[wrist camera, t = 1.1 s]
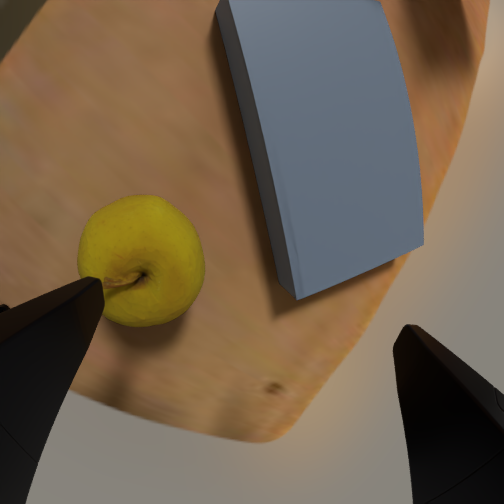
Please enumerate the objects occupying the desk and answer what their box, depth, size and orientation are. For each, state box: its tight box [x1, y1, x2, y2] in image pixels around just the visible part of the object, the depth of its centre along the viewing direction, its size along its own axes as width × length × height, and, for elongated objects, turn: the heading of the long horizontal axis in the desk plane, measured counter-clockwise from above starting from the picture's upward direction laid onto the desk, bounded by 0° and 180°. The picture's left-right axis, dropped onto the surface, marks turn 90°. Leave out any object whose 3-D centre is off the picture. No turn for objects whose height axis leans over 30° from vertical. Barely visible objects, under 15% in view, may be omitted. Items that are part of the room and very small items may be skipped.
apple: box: [77, 195, 205, 327], centre depth 14 cm, size 6×6×8 cm
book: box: [215, 0, 424, 300], centre depth 18 cm, size 12×20×3 cm, turn 13°
